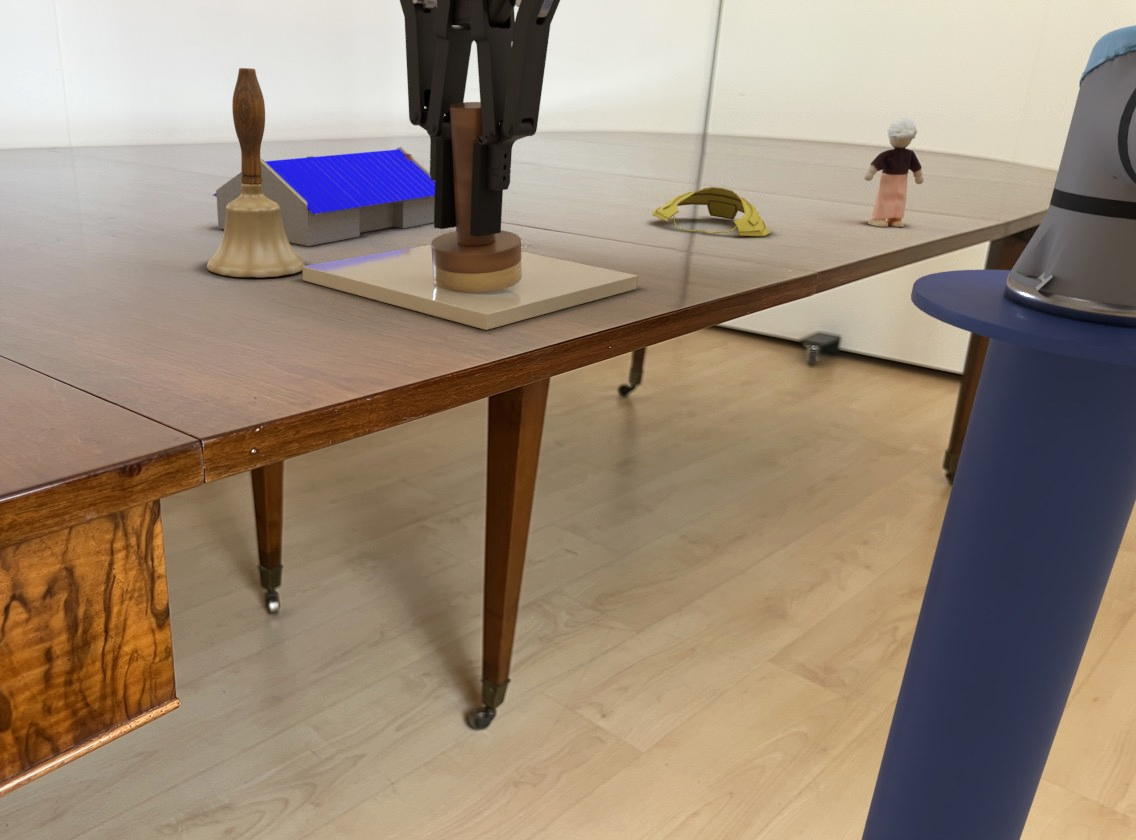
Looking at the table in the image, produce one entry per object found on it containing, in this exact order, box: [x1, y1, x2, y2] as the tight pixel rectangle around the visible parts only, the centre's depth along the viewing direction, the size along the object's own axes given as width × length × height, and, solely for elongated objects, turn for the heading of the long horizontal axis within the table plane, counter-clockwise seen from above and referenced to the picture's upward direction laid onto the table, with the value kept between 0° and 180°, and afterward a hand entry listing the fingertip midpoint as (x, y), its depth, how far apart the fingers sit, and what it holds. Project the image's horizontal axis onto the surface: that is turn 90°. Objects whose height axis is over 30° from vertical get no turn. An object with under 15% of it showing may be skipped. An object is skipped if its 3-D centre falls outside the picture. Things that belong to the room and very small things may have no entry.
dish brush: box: [430, 101, 522, 293], centre depth 76 cm, size 7×7×13 cm
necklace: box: [651, 186, 771, 237], centre depth 116 cm, size 13×12×4 cm
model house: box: [212, 146, 435, 247], centre depth 105 cm, size 22×14×7 cm, turn 146°
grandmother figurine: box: [863, 117, 925, 228], centre depth 122 cm, size 8×4×13 cm, turn 111°
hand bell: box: [206, 67, 307, 278], centre depth 83 cm, size 8×8×16 cm
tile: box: [302, 244, 638, 331], centre depth 84 cm, size 20×20×1 cm
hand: (467, 229), depth 76 cm, fingers closed on dish brush, 3 cm apart
